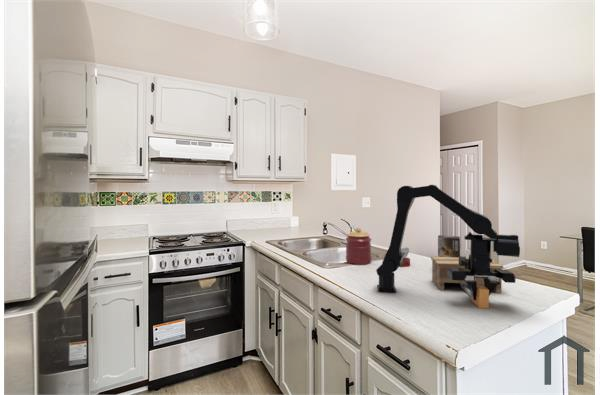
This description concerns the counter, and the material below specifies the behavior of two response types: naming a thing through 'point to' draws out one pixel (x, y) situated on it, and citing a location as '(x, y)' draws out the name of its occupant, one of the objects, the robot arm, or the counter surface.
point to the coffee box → (448, 246)
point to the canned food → (405, 258)
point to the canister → (358, 247)
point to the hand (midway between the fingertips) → (479, 300)
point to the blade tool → (478, 294)
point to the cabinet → (444, 263)
